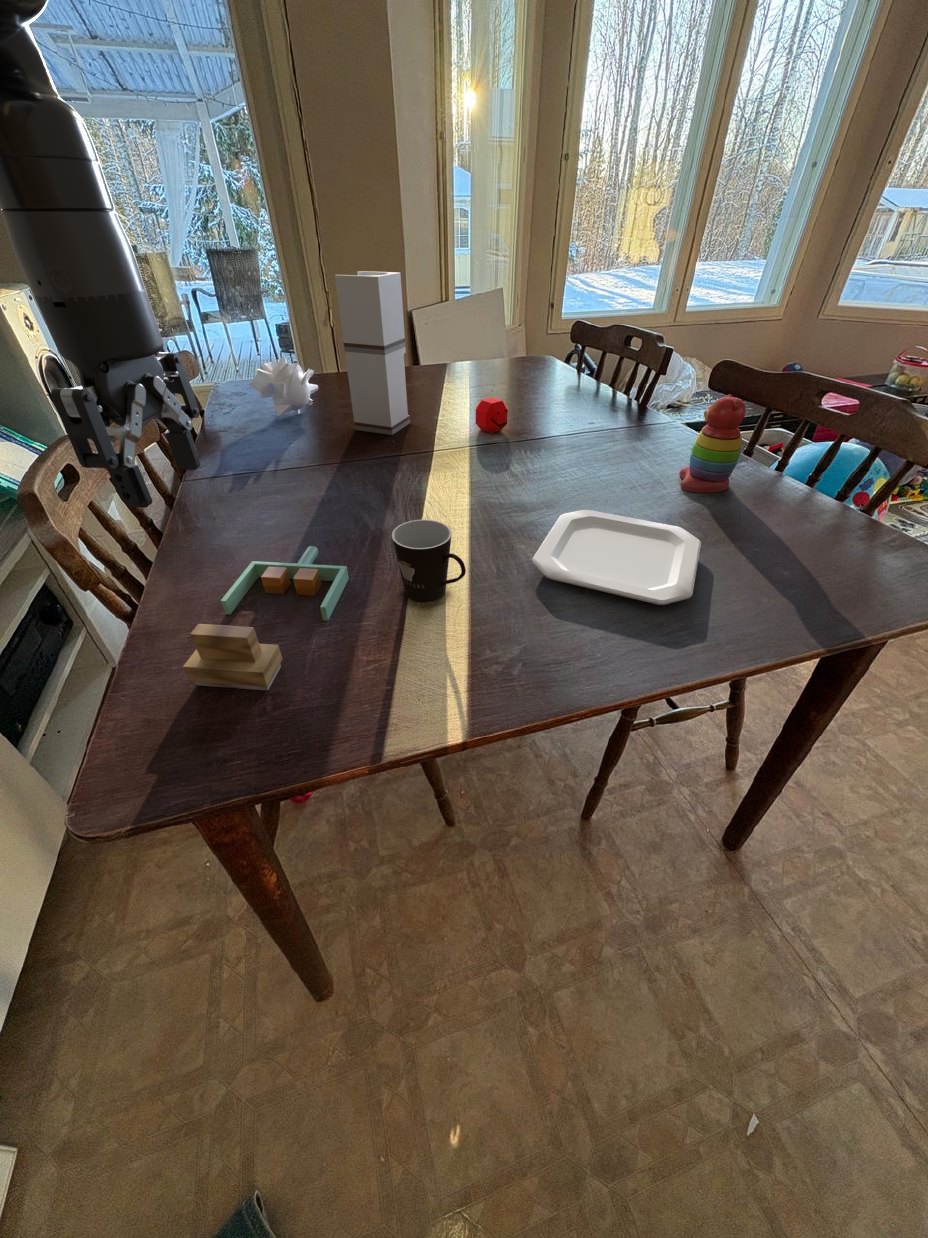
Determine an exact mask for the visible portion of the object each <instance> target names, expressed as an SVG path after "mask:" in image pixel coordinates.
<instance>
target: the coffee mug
mask: <svg viewBox="0 0 928 1238" xmlns="http://www.w3.org/2000/svg"><path fill="white" fill-rule="evenodd" d="M452 532H453V531H452V530H451V527H450V526H449V525H447V524H445V523H443V522H441V521H437V520H434V519H414V520H409V521H406V522H403V523H401V524H399V525H397V526H396V527H394V529H393V530H392V532H391V540H392V543H393V547H394V551H395V556H396V560H397V565H398V568H399V574H400V577H401V581H402V585H403V590H404V595H405V596H406V598H407V599H409V600H411V601H413V602H417V603H431V602H435V601H438V600H439V599H441V598H442V597H444V595H445V594H446V592H447V591H446V590H447V585H450V584H453V583H457V582H458V581H460V580H462V579H463V578H464V577H465V575H466V573H467V570H466V565H465V562H464V561H463V560H462V559H461V557H459V556H458V555H456V554H455V553H452V552H451V543H452V535H453V534H452ZM450 559H453V560H455V561H456V562H457V564H458V565H459V567H460V570H461V571H460V574H459V575H458V576H457V577H454V578H450V579H448V572H449V564H450V563H449V562H450Z"/></svg>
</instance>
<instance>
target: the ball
mask: <svg viewBox="0 0 928 1238" xmlns="http://www.w3.org/2000/svg"><path fill="white" fill-rule="evenodd" d="M508 409H509V408H508V406H507V404H506V403H505V402H504V400H502V399H499V398H495V397H489V398H485V399H481V400H480V401H479V402H478V403H477V405H476V406H475V425H476V426H477V427H478V428H479V429H480V430H481V431H483V432H487V433H489V434H493V433H496V432H500V431H502V430H503V429H504V428H505V427H506V426H507V424H508V411H509V410H508Z"/></svg>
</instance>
